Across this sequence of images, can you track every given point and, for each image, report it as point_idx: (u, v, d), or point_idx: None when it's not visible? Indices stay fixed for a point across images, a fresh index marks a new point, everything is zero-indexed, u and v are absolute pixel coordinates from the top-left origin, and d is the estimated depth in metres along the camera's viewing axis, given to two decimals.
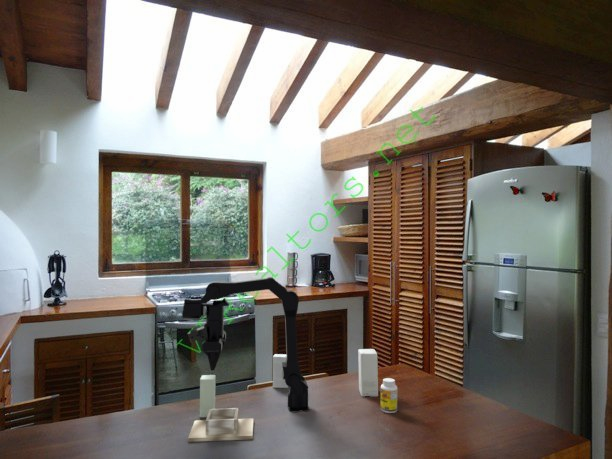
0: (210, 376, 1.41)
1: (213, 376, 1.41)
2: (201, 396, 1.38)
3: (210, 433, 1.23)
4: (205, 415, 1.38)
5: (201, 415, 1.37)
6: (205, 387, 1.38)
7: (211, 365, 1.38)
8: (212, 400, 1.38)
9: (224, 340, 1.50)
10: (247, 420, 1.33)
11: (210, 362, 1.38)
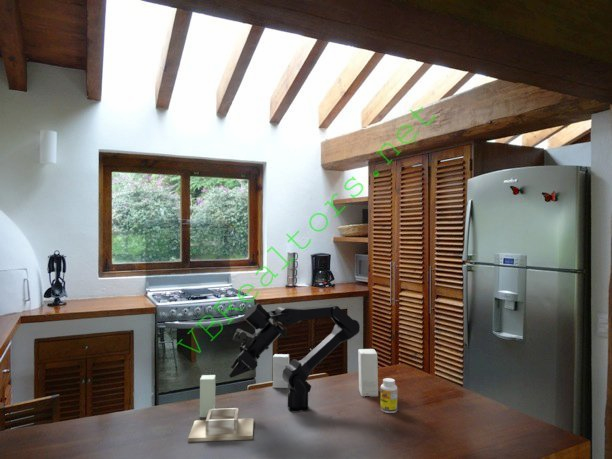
0: (210, 376, 1.41)
1: (213, 376, 1.41)
2: (201, 396, 1.38)
3: (210, 433, 1.23)
4: (205, 415, 1.38)
5: (201, 415, 1.37)
6: (205, 387, 1.38)
7: (233, 372, 1.36)
8: (212, 400, 1.38)
9: None
10: (247, 420, 1.33)
11: (234, 369, 1.36)
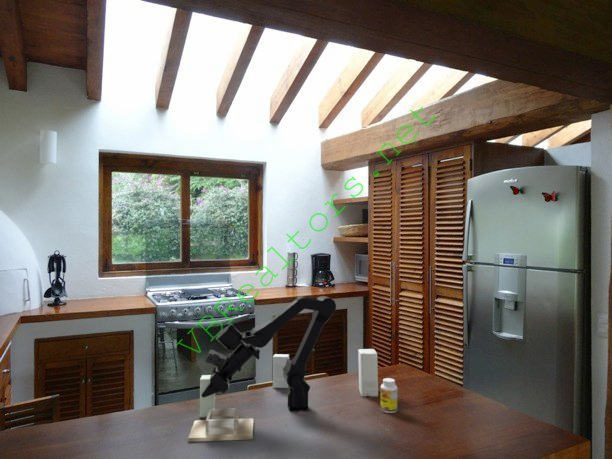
0: (210, 376, 1.41)
1: None
2: (201, 396, 1.38)
3: (210, 433, 1.23)
4: (205, 415, 1.38)
5: (201, 415, 1.37)
6: (205, 387, 1.38)
7: (205, 392, 1.37)
8: (212, 400, 1.38)
9: None
10: (247, 420, 1.33)
11: (206, 389, 1.37)
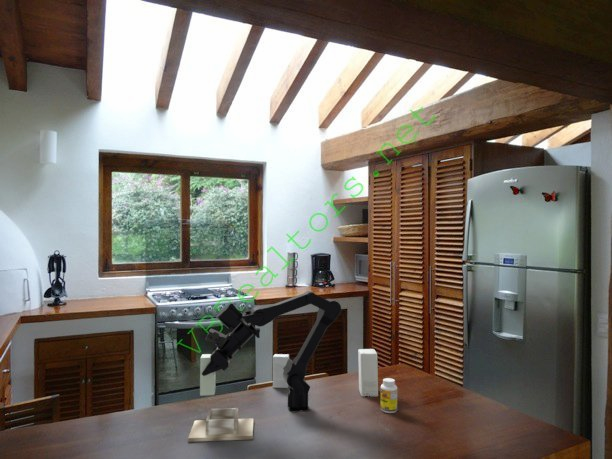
0: None
1: None
2: (201, 374, 1.38)
3: (210, 433, 1.23)
4: (205, 393, 1.38)
5: (201, 393, 1.38)
6: (205, 366, 1.38)
7: (205, 370, 1.37)
8: (212, 378, 1.38)
9: None
10: (247, 420, 1.33)
11: (206, 367, 1.37)
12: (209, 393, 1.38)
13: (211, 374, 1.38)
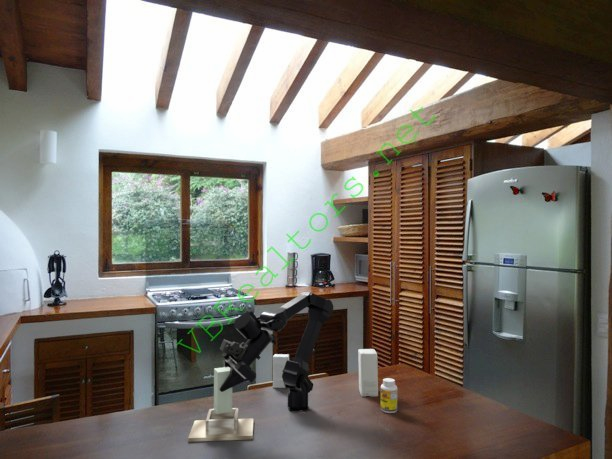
0: (225, 368, 1.29)
1: (228, 368, 1.29)
2: (218, 391, 1.25)
3: (210, 433, 1.23)
4: (223, 411, 1.26)
5: (219, 411, 1.25)
6: (223, 381, 1.26)
7: (224, 386, 1.25)
8: (230, 393, 1.27)
9: None
10: (247, 420, 1.33)
11: (225, 382, 1.25)
12: (227, 410, 1.26)
13: (229, 389, 1.26)
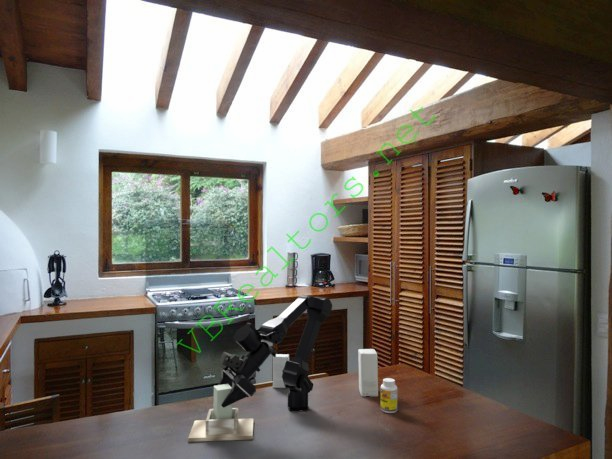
0: (225, 386, 1.28)
1: (227, 385, 1.29)
2: (218, 409, 1.25)
3: (210, 433, 1.23)
4: None
5: None
6: (222, 398, 1.26)
7: (226, 401, 1.23)
8: (230, 411, 1.26)
9: None
10: (247, 420, 1.33)
11: (227, 398, 1.23)
12: None
13: (229, 407, 1.26)
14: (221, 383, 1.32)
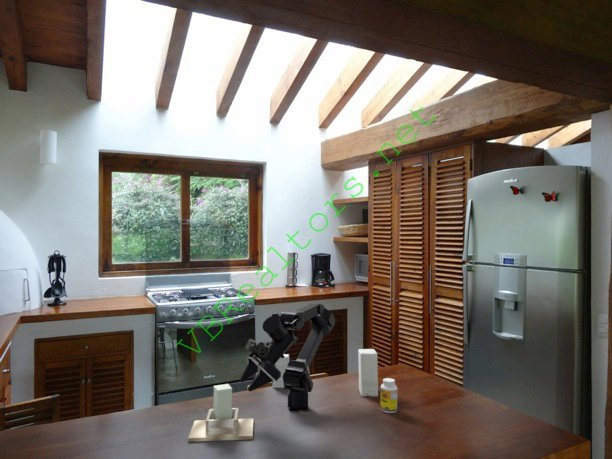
0: (225, 386, 1.28)
1: (227, 385, 1.29)
2: (218, 409, 1.25)
3: (210, 433, 1.23)
4: None
5: None
6: (222, 398, 1.26)
7: (252, 386, 1.28)
8: (230, 411, 1.26)
9: (259, 367, 1.41)
10: (247, 420, 1.33)
11: (253, 382, 1.28)
12: None
13: (229, 407, 1.26)
14: (247, 369, 1.38)
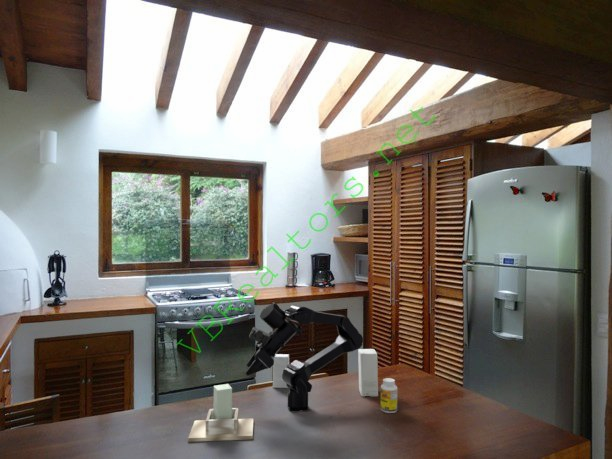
0: (225, 386, 1.28)
1: (227, 385, 1.29)
2: (218, 409, 1.25)
3: (210, 433, 1.23)
4: None
5: None
6: (222, 398, 1.26)
7: (249, 370, 1.37)
8: (230, 411, 1.26)
9: None
10: (247, 420, 1.33)
11: (250, 367, 1.37)
12: None
13: (229, 407, 1.26)
14: (254, 355, 1.48)
